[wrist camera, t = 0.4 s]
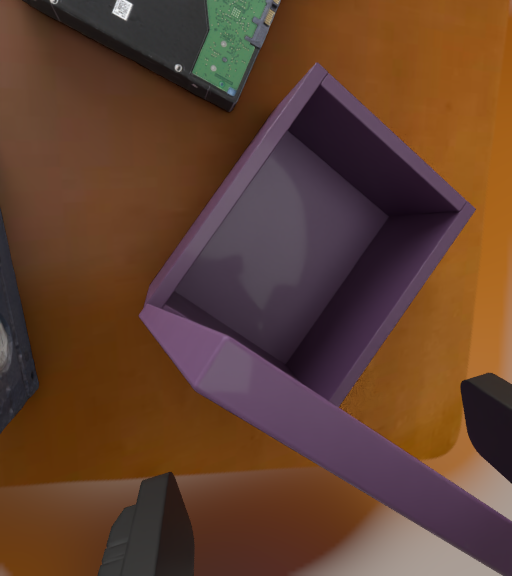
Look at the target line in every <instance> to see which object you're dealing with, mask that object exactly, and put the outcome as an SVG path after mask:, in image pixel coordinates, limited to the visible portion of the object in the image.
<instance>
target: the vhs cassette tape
mask: <svg viewBox="0 0 512 576" xmlns="http://www.w3.org/2000/svg"><path fill="white" fill-rule="evenodd" d="M38 387H39V382H38V378H37V375H36V371H35V365H34V360H33V358H32V352H31V347H30V342H29V338H28V333H27V329H26V324H25V319H24V314H23V309H22V305H21V300H20V296H19V292H18V288H17V283H16V277H15V273H14V269H13V265H12V261H11V256H10V251H9V246H8V241H7V236H6V232H5V227H4V223H3V218H2V214H1V209H0V433H1V432H2V431H3V429H4V428H5V427H6V426H7V424H8V423H9V422H10V421H11V420H12V419H13V418H14V417H15V415H16V414H17V413H18V412H19V411H20V410H21V408H22V407H23V406H24V404H25V403H26V401H27V399H29V398H30V397H31V396H32V395H33V394H34V393H35V391H36V390H37V389H38Z"/></svg>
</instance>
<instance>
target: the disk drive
mask: <svg viewBox="0 0 512 576" xmlns="http://www.w3.org/2000/svg"><path fill="white" fill-rule="evenodd" d="M23 1H24V2H26V3H28V4H29V5H30V6H32V7H34V8H36V9H37V10H39V11H41V12H42V13H44V14H46V15H48V16H50V17H52V18H54V19H56V20H58V21H60V22H62V23H64V24H66V25H68V26H69V27H71V28H73V29H75V30H77V31H79V32H81V33H82V34H84V35H86V36H88V37H90V38H92V39H94V40H96V41H97V42H99V43H101V44H103V45H105V46H107V47H109V48H111V49H113V50H114V51H116V52H118V53H120V54H122V55H124V56H126V57H127V58H130V59H132V60H134V61H136V62H137V63H139V64H141V65H143V66H144V67H146V68H148V69H150V70H151V71H153V72H155V73H157V74H159V75H161V76H163V77H165V78H166V79H169V80H170V81H172V82H174V83H176V84H177V85H179V86H181V87H183V88H185V89H187V90H189V91H190V92H192V93H193V94H195V95H197V96H199V97H201V98H203V99H206V100H207V101H209V102H212V103H213V104H216V105H217V106H219V107H220V108H223V109H225V110H227V111H228V112H231V111H232V110H233V108H234V107H235V105H236V103H237V101H238V99H239V97H240V94H241V92H242V90H243V87H244V85H245V83H246V80H247V78H248V76H249V74H250V71H251V69H252V67H253V64H254V62H255V60H256V57H257V55H258V53H259V50H260V49H261V47H262V44H263V42H264V40H265V37H266V35H267V33H268V31H269V27H270V25H271V23H272V20H273V18H274V16H275V13H276V11H277V8H278V6H279V4H280V1H281V0H23Z"/></svg>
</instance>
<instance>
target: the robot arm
mask: <svg viewBox="0 0 512 576" xmlns="http://www.w3.org/2000/svg"><path fill="white" fill-rule="evenodd" d="M461 395H462V401H463V408H464V414H465V419H466V426H467V432H468V435H469V438H470V440H471V442H472V444H473V446H474V448H475V449H476V451H477V452H478V453H479V454H480V455H481V456H482V457H483V458H484V459H485V460H486V461H488V463H490V464H491V465H492V466H493V467H494V468H495V469H496V470H497V471H498V472H500V473H501V474H502V475H503V476H504V477H505V478H506V479H507V480H508V481H510V482H511V483H512V384H510V383H508V382H507V381H505V380H503V379H502V378H500V377H498V376H497V375H495V374H493V373H486V374H483V375H480V376H477V377H473V378H470V379H467V380H464V381H462V382H461ZM98 576H194V537H193V531H192V526H191V522H190V519H189V516H188V513H187V510H186V508H185V505H184V502H183V499H182V496H181V494H180V491H179V488H178V485H177V482H176V479H175V477H174V475H173V473H172V472H168V473H165V474H162V475H159V476H155V477H152V478H149V479H146V480H143V481H142V482H141V485H140V490H139V495H138V499H137V503H136V505H132V506H130V507H126V508H124V510H123V511H122V513H121V514H120V515H119V517H118V518H117V520H116V521H115V523H114V524H113V526H112V528H111V531H110V535H109V538H108V541H107V549H105V552H104V556H103V559H102V565H101V566H100V569H99V572H98Z"/></svg>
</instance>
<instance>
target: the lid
mask: <svg viewBox="0 0 512 576" xmlns="http://www.w3.org/2000/svg"><path fill="white" fill-rule="evenodd" d="M139 318H140V319H141V320H142V322H143V323H144V324H145V326H146V327H147V328H148V329H149V331H150V332H151V333H152V335H153V336H154V337H155V339H156V340H157V341H158V343H159V344H160V345H161V347H162V348H163V349H164V351H165V352H166V353H167V355H168V356H169V357H170V359H171V360H172V361H173V363H174V364H175V365H176V366H177V368H178V369H179V370H180V372H181V373H182V374H183V376H184V377H185V378H186V380H187V381H188V382H189V384H190V385H191V386H192V388H193V389H194V390H195V391H196V392H198V393H199V394H201V395H203V396H204V397H206V398H208V399H209V400H211V401H213V402H214V403H216V404H218V405H219V406H221V407H223V408H224V409H226V410H228V411H229V412H231V413H233V414H234V415H236V416H238V417H239V418H241V419H243V420H244V421H246V422H248V423H249V424H251V425H253V426H254V427H256V428H258V429H259V430H261V431H263V432H264V433H266V434H268V435H269V436H271V437H273V438H274V439H276V440H278V441H279V442H281V443H283V444H284V445H286V446H288V447H289V448H291V449H293V450H294V451H296V452H298V453H299V454H301V455H303V456H304V457H306V458H308V459H309V460H311V461H313V462H314V463H316V464H318V465H319V466H321V467H323V468H324V469H326V470H328V471H329V472H331V473H333V474H334V475H336V476H338V477H339V478H341V479H343V480H344V481H346V482H348V483H349V484H351V485H353V486H354V487H356V488H358V489H359V490H361V491H363V492H364V493H366V494H368V495H369V496H371V497H373V498H374V499H376V500H378V501H379V502H381V503H383V504H384V505H386V506H388V507H389V508H391V509H393V510H394V511H396V512H398V513H399V514H401V515H403V516H404V517H406V518H408V519H409V520H411V521H413V522H414V523H416V524H418V525H420V526H421V527H423V528H424V529H426V530H428V531H429V532H431V533H433V534H434V535H436V536H438V537H439V538H441V539H443V540H444V541H446V542H448V543H449V544H451V545H453V546H454V547H456V548H458V549H459V550H461V551H463V552H464V553H466V554H468V555H469V556H471V557H473V558H474V559H476V560H478V561H479V562H481V563H483V564H484V565H486V566H488V567H489V568H491V569H493V570H494V571H496V572H498V573H499V574H501V575H503V576H512V521H510V520H509V519H507V518H506V517H504V516H503V515H501V514H500V513H498V512H496V511H495V510H494V509H492V508H491V507H489V506H488V505H486V504H485V503H483V502H481V501H480V500H478V499H477V498H475V497H474V496H472V495H471V494H469V493H468V492H466V491H465V490H463V489H462V488H460V487H459V486H457V485H456V484H454V483H453V482H451V481H450V480H448V479H446V478H445V477H443V476H442V475H440V474H439V473H437V472H436V471H434V470H433V469H431V468H430V467H428V466H427V465H425V464H424V463H422V462H421V461H419V460H418V459H416V458H415V457H413V456H412V455H410V454H409V453H407V452H405V451H404V450H402V449H401V448H399V447H398V446H396V445H395V444H393V443H392V442H390V441H389V440H387V439H386V438H384V437H383V436H381V435H380V434H378V433H377V432H375V431H374V430H372V429H370V428H369V427H367V426H366V425H364V424H363V423H361V422H360V421H358V420H357V419H355V418H354V417H352V416H351V415H349V414H348V413H346V412H345V411H343V410H342V409H340V408H339V407H337V406H336V405H334V404H332V403H331V402H329V401H328V400H326V399H325V398H323V397H322V396H320V395H319V394H317V393H316V392H314V391H313V390H311V389H310V388H308V387H307V386H305V385H304V384H302V383H301V382H299V381H297V380H296V379H294V378H293V377H291V376H290V375H288V374H287V373H285V372H284V371H282V370H281V369H279V368H278V367H276V366H275V365H273V364H272V363H270V362H269V361H267V360H266V359H264V358H263V357H261V356H259V355H258V354H256V353H255V352H253V351H252V350H250V349H249V348H247V347H246V346H244V345H243V344H241V343H240V342H238V341H237V340H235V339H234V338H232V337H231V336H228V335H226V334H223V333H221V332H218V331H216V330H213V329H211V328H208V327H206V326H203V325H201V324H198V323H196V322H193V321H191V320H188V319H185V318H183V317H180V316H178V315H175V314H173V313H170V312H168V311H165V310H163V309H160V308H158V307H155V306H153V305H150V304H146V306H145V307H144V308H143V310H142V311H141V313H140V314H139Z"/></svg>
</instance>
